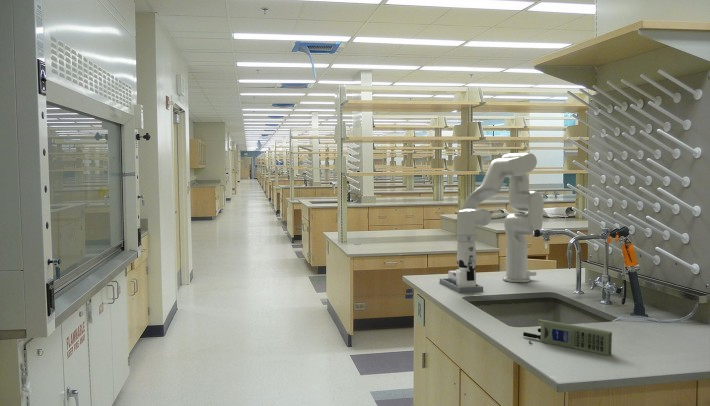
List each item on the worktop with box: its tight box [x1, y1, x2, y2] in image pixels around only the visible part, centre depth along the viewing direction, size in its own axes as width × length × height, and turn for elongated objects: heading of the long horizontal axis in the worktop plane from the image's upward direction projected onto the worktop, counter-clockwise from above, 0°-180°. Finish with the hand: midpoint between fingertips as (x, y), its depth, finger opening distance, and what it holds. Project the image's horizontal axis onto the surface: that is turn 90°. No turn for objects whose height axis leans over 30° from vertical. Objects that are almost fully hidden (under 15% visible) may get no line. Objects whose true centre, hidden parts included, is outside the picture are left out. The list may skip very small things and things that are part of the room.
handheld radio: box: [522, 319, 613, 356], centre depth 153 cm, size 7×3×25 cm
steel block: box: [447, 269, 457, 283], centre depth 236 cm, size 5×5×6 cm
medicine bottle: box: [455, 260, 477, 288], centre depth 226 cm, size 7×7×12 cm
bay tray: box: [439, 277, 484, 294], centre depth 231 cm, size 11×21×3 cm, turn 14°
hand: (465, 278), depth 226 cm, fingers closed on medicine bottle, 8 cm apart
